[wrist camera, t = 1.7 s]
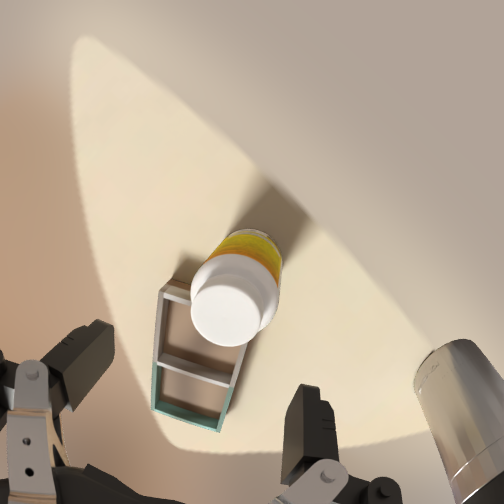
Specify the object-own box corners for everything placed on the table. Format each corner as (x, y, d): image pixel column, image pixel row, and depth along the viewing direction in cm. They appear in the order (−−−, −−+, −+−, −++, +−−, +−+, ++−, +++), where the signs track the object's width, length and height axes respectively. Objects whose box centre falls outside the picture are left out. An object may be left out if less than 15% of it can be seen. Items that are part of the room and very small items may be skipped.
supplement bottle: (218, 225, 25) (172, 265, 15) (284, 228, 24) (279, 272, 14) (219, 286, 26) (181, 352, 17) (280, 291, 26) (273, 362, 16)
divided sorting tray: (258, 304, 26) (254, 319, 24) (224, 416, 31) (219, 432, 29) (170, 278, 27) (158, 290, 24) (159, 394, 32) (150, 409, 29)
